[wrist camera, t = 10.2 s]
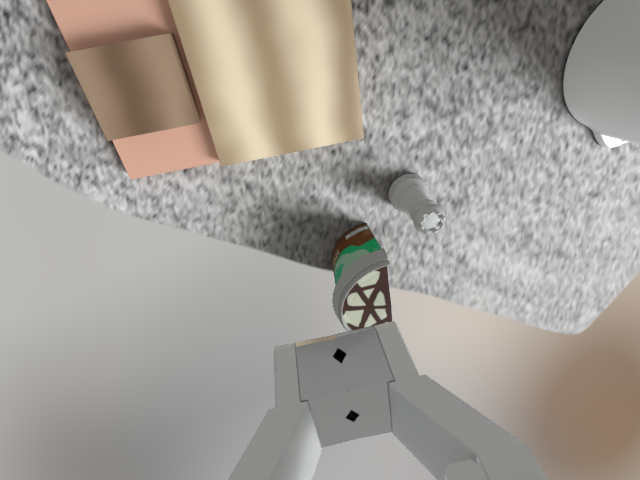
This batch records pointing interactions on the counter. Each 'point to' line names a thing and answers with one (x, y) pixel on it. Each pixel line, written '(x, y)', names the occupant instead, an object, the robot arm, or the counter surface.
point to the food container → (360, 280)
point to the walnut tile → (136, 86)
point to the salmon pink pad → (124, 25)
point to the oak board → (272, 73)
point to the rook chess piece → (416, 203)
